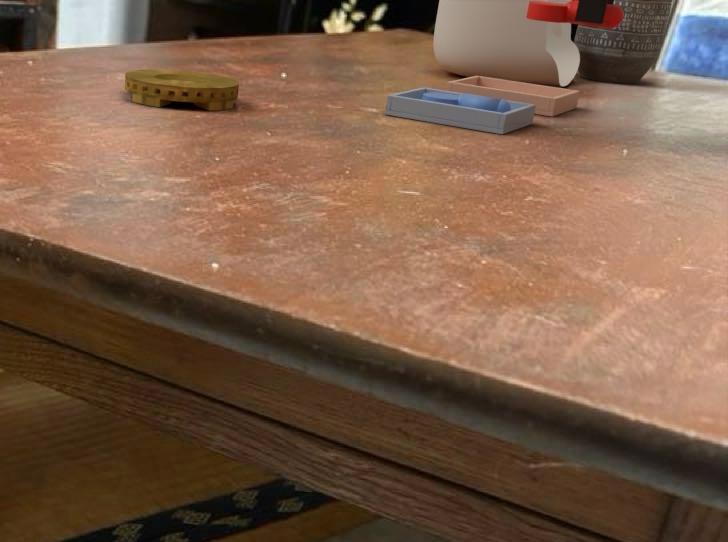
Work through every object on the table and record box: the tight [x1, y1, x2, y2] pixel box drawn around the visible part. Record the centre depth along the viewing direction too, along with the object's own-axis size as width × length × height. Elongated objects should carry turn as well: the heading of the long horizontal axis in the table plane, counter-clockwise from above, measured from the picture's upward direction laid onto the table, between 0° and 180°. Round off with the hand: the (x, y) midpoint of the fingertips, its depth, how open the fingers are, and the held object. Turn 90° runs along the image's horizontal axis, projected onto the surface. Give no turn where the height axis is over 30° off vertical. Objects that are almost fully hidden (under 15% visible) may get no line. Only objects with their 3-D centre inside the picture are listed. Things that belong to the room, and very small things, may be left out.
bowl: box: [432, 0, 580, 87], centre depth 153 cm, size 20×19×12 cm
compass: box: [124, 69, 240, 111], centre depth 117 cm, size 12×12×2 cm
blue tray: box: [384, 87, 536, 135], centre depth 120 cm, size 13×10×2 cm
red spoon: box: [526, 0, 624, 28], centre depth 115 cm, size 10×4×2 cm, turn 58°
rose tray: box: [445, 76, 581, 117], centre depth 133 cm, size 13×10×2 cm
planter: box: [573, 0, 674, 85], centre depth 162 cm, size 12×12×13 cm
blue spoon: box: [422, 93, 511, 113], centre depth 119 cm, size 10×4×2 cm, turn 58°
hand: (591, 21), depth 115 cm, fingers closed on red spoon, 2 cm apart
